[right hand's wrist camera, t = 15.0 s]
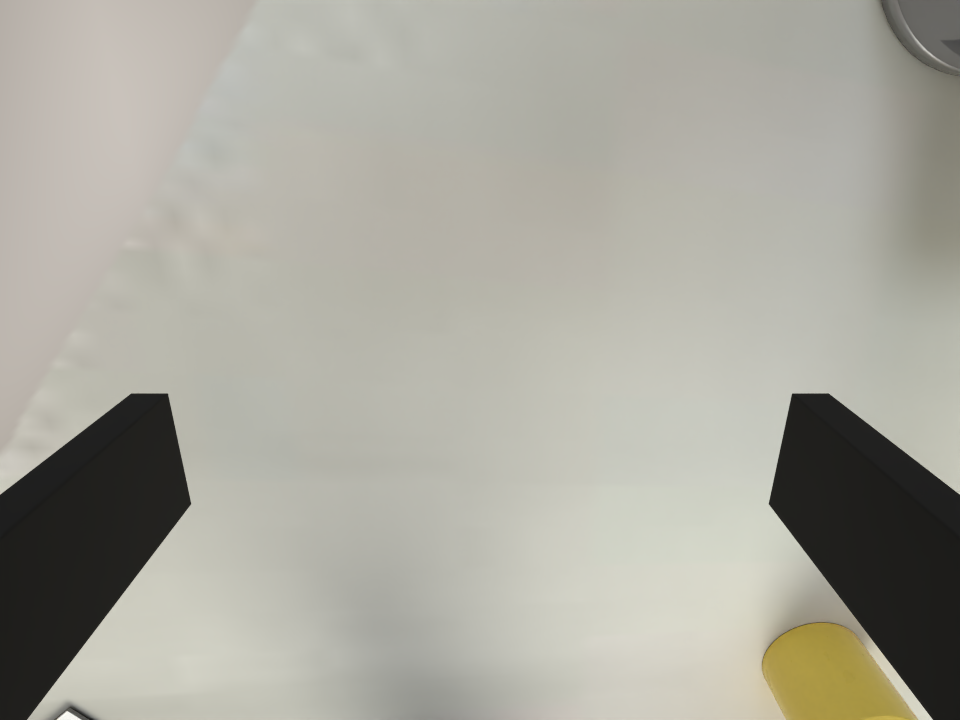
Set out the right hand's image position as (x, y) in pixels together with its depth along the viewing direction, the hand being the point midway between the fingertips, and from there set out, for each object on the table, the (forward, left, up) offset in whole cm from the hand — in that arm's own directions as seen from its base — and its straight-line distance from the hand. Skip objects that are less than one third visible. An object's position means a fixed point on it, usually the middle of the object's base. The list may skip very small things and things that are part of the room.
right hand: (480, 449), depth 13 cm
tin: (-10, +48, -29) cm, 57 cm away
